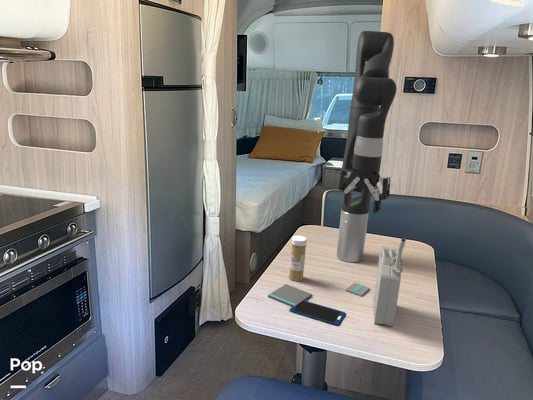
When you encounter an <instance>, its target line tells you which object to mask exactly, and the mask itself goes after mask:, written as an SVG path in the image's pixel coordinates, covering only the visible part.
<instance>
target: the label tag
mask: <svg viewBox="0 0 533 400" xmlns="http://www.w3.org/2000/svg"><path fill="white" fill-rule="evenodd" d="M370 289H371V288H370V286H369V287H368V286H365V285H364V284H361V283H356V282H354V283H352V284H350V285H349V286H348V287H347V288H346V289H345V292H347V293H350V294H352V295H353V294H354V295H356V296H358V297H362V296H364V295H365V294H366V293H367V292H368V291H369V290H370Z"/></svg>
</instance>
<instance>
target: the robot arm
mask: <svg viewBox="0 0 533 400" xmlns="http://www.w3.org/2000/svg"><path fill="white" fill-rule="evenodd" d="M394 45H395V39H394V36H393V34H392V33H390V32H389V31H388V32H386V31H376V30H362V31H361V32H360V33H359V36H358V39H357V46H356V57H355V70H354V71H355V72H354V83H353V89H352V97H351V102H350V106H349V108H350V110H349V115H348V116H349V117H348V124H347V136H346V143H345V150H344V155H343V161H342V165H341V169H340V176H339V183H338V190H339V191H342V192H343V193H344V197H343V201H342V203H341V209H340V210H341V211H340V221H339V227H338V228H339V229H338V237H337V246H336V257H337V258H338V259H339V260H341V261H344V262H348V263H358V262H362V261H363V259H364V252H365V244H366V236H367V229H368V221H369V214H370V204H371V198H372V196H373V197H374V202H373V209H372V213H373V214H377V213H379V212H380V211H381V209H382V203H383V202H382V201H385V200H388V199H389V198H390V193H391V192H390V191H391V179H392V178H391V177H389V176H386V177H384V176H381V174H380V171H381V163H382V157H383V149H384V135H385V134H384V133H385V128H386V127H385V125H386V120H387V117H388V114H389V111H390V108H391V106H392V104H393V102H394V99H395V97H396V94H397V89H398V88H397V84H396V81H395V80H394V79H392V78H390V74H389V73H390V71H389V70H390V69H389V68H390V66H391V62H392V57H393V53H394ZM378 183H380V184H381V188H382V190H381V189H380V187H379V185H378ZM380 190H381V191H380ZM352 192H356V193H361V194H360V195H358V196H356V197H353V198H352V196H353V195H352V194H353V193H352Z"/></svg>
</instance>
